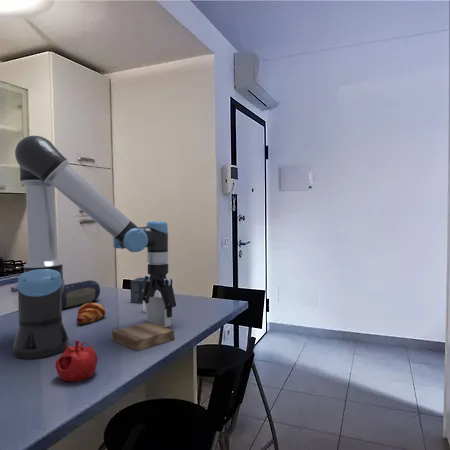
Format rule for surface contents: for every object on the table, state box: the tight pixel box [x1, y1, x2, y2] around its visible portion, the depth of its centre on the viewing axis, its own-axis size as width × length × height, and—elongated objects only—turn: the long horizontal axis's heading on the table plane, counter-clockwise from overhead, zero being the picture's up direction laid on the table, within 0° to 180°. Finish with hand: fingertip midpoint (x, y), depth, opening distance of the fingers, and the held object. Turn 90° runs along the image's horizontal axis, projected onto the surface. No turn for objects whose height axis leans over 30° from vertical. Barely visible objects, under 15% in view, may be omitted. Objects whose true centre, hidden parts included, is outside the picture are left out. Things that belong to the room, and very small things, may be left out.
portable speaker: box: [62, 279, 101, 310], centre depth 170 cm, size 25×10×10 cm, turn 149°
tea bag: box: [147, 297, 165, 327], centre depth 140 cm, size 4×7×10 cm, turn 86°
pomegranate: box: [54, 339, 98, 383], centre depth 95 cm, size 10×10×9 cm
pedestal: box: [112, 321, 175, 352], centre depth 122 cm, size 14×14×3 cm
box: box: [130, 277, 145, 305], centre depth 176 cm, size 8×6×11 cm
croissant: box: [76, 302, 106, 325], centre depth 148 cm, size 21×10×8 cm, turn 177°
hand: (158, 323), depth 140 cm, fingers open, 10 cm apart
